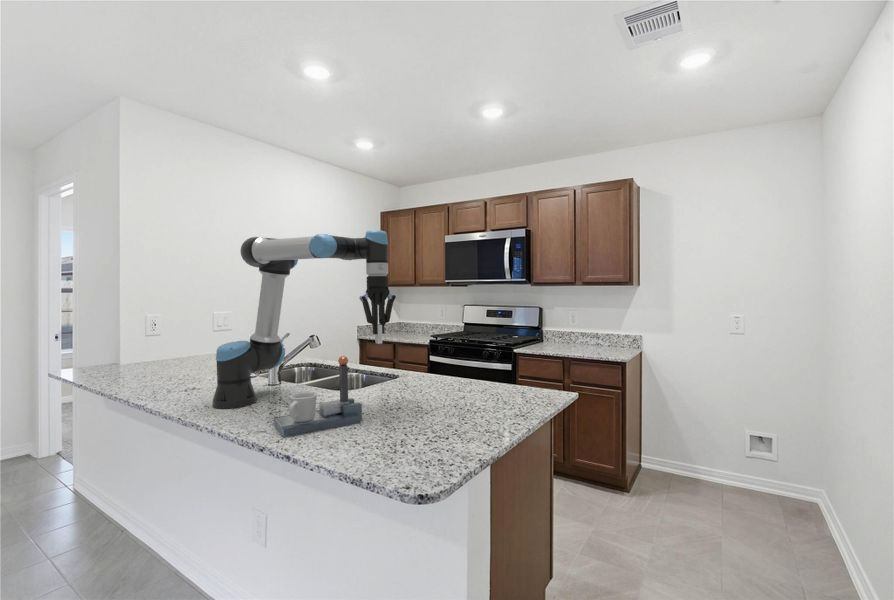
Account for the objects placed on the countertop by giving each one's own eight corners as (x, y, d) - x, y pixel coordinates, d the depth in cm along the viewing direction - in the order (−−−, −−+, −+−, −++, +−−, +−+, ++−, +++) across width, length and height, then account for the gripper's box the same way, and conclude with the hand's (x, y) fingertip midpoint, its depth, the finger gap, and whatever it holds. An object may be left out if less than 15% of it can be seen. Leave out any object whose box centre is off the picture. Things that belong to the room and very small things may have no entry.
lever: (319, 412, 145) (318, 357, 145) (346, 408, 150) (345, 354, 150) (324, 416, 141) (322, 359, 140) (351, 411, 146) (350, 356, 145)
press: (274, 425, 142) (273, 408, 142) (349, 412, 156) (349, 396, 155) (283, 437, 130) (283, 419, 130) (365, 422, 144) (364, 405, 144)
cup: (302, 428, 130) (301, 401, 130) (279, 426, 132) (278, 399, 132) (322, 417, 140) (321, 392, 140) (300, 415, 142) (299, 391, 142)
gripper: (363, 275, 146) (365, 346, 147) (399, 275, 153) (400, 342, 154) (355, 275, 152) (357, 343, 153) (389, 275, 159) (391, 340, 160)
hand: (378, 343), depth 153 cm, fingers closed
